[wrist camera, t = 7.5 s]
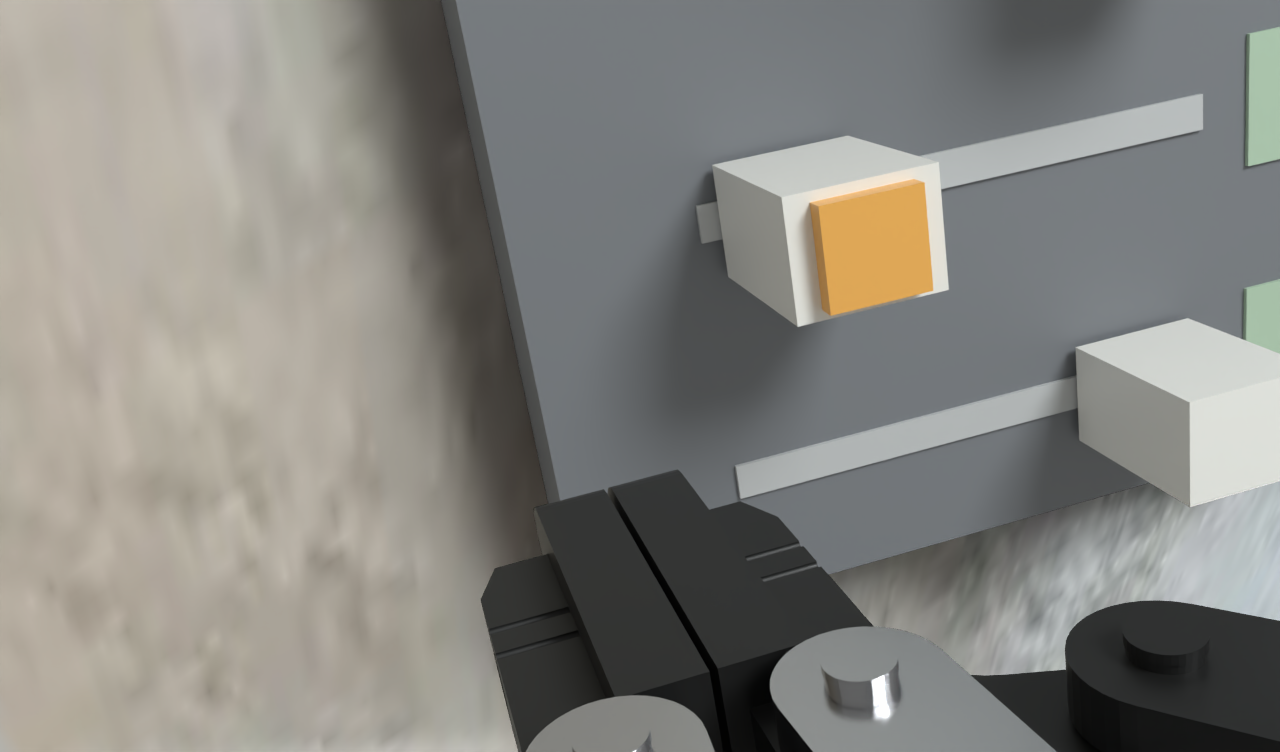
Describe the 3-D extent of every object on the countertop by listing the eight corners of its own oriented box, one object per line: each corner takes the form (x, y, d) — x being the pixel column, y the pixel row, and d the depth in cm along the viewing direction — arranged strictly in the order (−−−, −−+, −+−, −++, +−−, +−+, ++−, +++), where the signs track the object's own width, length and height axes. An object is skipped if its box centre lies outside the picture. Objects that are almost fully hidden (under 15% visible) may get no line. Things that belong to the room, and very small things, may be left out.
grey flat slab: (399, -197, 24) (410, -221, 21) (1263, -329, 28) (1371, -364, 25) (564, 582, 30) (590, 644, 28) (1253, 393, 34) (1338, 431, 31)
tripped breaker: (712, 164, 25) (790, 200, 21) (847, 135, 25) (949, 165, 21) (728, 277, 26) (806, 332, 21) (859, 246, 26) (959, 295, 22)
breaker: (1075, 347, 28) (1189, 402, 25) (1187, 317, 29) (1316, 367, 25) (1079, 440, 29) (1190, 507, 25) (1188, 410, 30) (1312, 471, 26)
